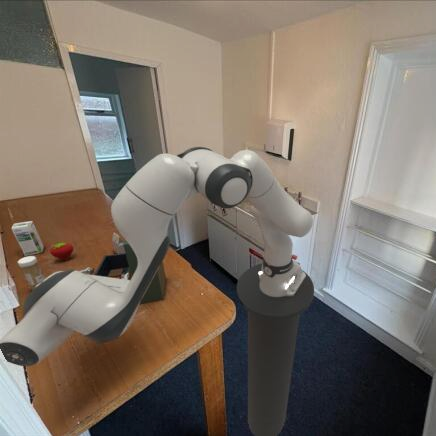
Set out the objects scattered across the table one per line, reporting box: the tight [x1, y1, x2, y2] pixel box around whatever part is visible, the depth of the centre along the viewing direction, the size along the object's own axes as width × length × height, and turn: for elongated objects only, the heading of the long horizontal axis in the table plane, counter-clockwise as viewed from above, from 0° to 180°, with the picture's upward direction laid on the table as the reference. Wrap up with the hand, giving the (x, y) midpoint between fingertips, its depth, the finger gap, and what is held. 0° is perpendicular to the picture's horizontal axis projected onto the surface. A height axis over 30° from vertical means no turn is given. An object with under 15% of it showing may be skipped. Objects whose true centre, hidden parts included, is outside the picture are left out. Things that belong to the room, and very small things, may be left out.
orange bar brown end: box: [108, 269, 125, 279], centre depth 87 cm, size 20×4×4 cm, turn 20°
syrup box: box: [11, 220, 45, 257], centre depth 105 cm, size 6×6×14 cm
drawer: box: [93, 253, 132, 280], centre depth 89 cm, size 30×12×8 cm, turn 21°
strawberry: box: [49, 241, 74, 261], centre depth 103 cm, size 6×8×10 cm
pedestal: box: [123, 239, 167, 305], centre depth 87 cm, size 12×8×26 cm, turn 21°
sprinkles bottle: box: [17, 255, 46, 291], centre depth 86 cm, size 5×5×14 cm
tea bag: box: [110, 232, 125, 254], centre depth 111 cm, size 4×7×10 cm, turn 54°
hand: (109, 272), depth 70 cm, fingers open, 8 cm apart
